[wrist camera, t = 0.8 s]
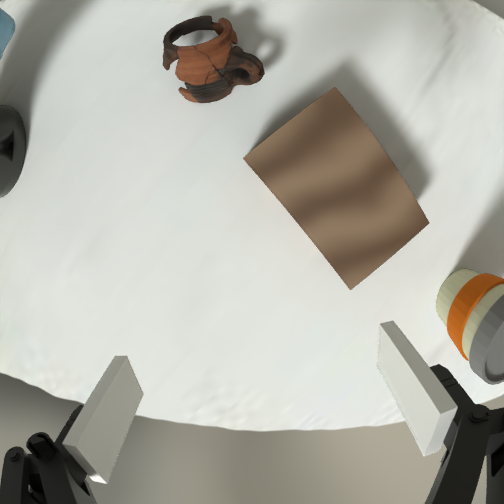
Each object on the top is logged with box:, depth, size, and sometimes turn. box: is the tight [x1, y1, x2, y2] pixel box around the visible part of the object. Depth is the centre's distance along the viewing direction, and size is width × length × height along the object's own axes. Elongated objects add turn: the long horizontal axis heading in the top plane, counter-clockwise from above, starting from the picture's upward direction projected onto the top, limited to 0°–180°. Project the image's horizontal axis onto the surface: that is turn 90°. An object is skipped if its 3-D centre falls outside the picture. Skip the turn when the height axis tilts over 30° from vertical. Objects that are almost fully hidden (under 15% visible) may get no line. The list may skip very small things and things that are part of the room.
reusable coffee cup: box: [436, 269, 504, 385], centre depth 32 cm, size 13×13×15 cm
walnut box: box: [243, 87, 429, 290], centre depth 32 cm, size 18×12×6 cm, turn 40°
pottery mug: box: [163, 16, 265, 103], centre depth 29 cm, size 12×10×8 cm
